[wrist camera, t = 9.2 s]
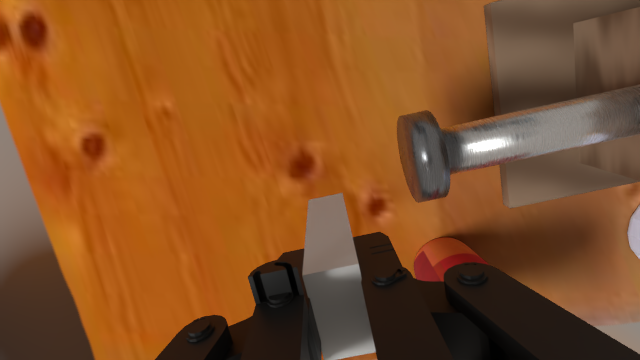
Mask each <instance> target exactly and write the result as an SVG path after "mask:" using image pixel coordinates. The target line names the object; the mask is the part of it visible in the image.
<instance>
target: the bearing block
mask: <svg viewBox="0 0 640 360" xmlns="http://www.w3.org/2000/svg"><path fill="white" fill-rule="evenodd" d="M484 12H485V22H486V32H487V42H488V52H489V63H490V73H491V83H492V93H493V103H494V113H495V116H499V115H504V114H508V113H513V112H518V111H522V110H527V109H531V108H536V107H540V106H545V105H549V104H554V103H558V102H563V101H568V100H572V99H577V98H581V97H586V96H590V95H595V94H599V93H604V92H608V91H613V90H618V89H622V88H627V87H631V86H636V85H640V0H501V1H497V2H492V3H489V4H487V5H485V6H484ZM500 174H501V185H502V195H503V204H504V205H505V206H507V207H508V208H514V207H519V206H524V205H529V204H533V203H538V202H543V201H548V200H553V199H558V198H563V197H567V196H572V195H577V194H582V193H587V192H592V191H596V190H601V189H606V188H611V187H616V186H621V185H625V184H630V183H635V182H640V134H639V135H635V136H630V137H625V138H621V139H616V140H611V141H607V142H602V143H597V144H592V145H588V146H583V147H578V148H574V149H569V150H564V151H560V152H555V153H550V154H546V155H541V156H536V157H531V158H527V159H522V160H517V161H513V162H508V163H503V164H500Z"/></svg>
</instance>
